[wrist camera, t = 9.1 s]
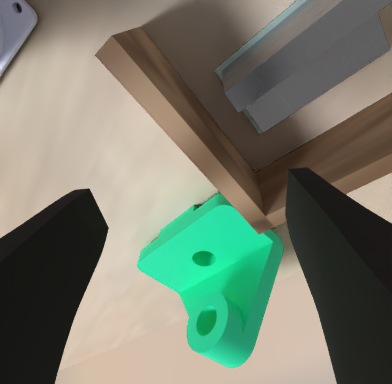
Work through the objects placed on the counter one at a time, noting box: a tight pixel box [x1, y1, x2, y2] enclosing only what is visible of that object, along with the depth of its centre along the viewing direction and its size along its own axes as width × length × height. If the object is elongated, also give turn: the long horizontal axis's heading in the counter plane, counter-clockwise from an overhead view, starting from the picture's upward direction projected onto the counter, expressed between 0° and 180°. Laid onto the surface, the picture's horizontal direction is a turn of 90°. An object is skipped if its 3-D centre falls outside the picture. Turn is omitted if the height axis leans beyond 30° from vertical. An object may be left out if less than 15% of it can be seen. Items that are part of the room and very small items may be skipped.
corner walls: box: [95, 27, 392, 235], centre depth 14 cm, size 14×14×5 cm
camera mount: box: [137, 193, 284, 368], centre depth 22 cm, size 12×8×10 cm, turn 136°
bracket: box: [222, 0, 392, 133], centre depth 13 cm, size 8×5×5 cm, turn 129°
